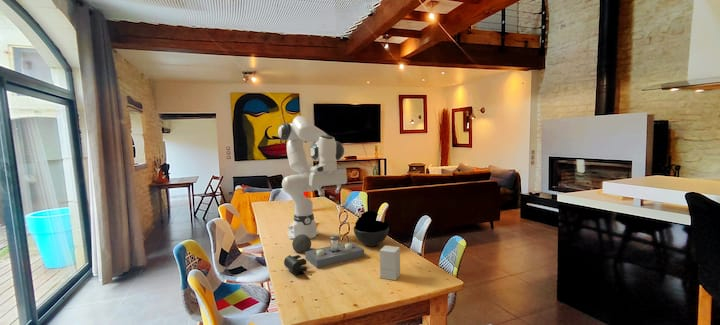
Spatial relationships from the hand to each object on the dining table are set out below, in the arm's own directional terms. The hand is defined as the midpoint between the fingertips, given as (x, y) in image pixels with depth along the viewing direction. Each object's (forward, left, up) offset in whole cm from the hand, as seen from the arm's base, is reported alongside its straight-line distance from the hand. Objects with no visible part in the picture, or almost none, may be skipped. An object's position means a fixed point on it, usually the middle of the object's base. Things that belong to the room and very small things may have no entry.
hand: (329, 194), depth 168 cm
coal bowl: (-2, +27, -33) cm, 43 cm away
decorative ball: (-12, -11, -33) cm, 37 cm away
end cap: (+9, -23, -33) cm, 41 cm away
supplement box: (+37, +11, -33) cm, 50 cm away
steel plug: (+7, -1, -31) cm, 32 cm away
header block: (+7, -1, -33) cm, 33 cm away
